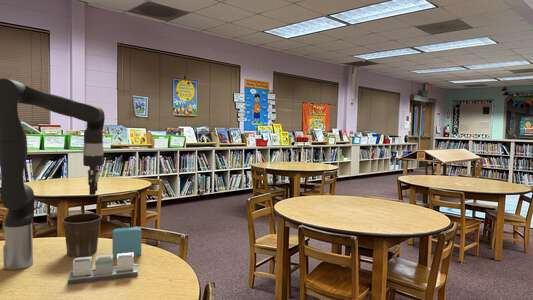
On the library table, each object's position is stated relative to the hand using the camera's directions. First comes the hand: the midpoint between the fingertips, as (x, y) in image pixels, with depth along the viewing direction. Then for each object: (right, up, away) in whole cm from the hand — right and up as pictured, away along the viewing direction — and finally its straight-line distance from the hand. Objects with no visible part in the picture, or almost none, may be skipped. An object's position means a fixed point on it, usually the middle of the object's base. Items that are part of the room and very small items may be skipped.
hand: (93, 192), depth 146 cm
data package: (+9, -30, +12) cm, 34 cm away
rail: (+9, -31, -10) cm, 34 cm away
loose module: (+9, -30, -10) cm, 33 cm away
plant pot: (-12, -29, +14) cm, 34 cm away
